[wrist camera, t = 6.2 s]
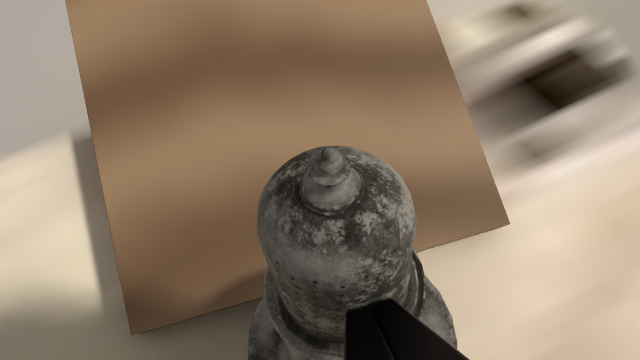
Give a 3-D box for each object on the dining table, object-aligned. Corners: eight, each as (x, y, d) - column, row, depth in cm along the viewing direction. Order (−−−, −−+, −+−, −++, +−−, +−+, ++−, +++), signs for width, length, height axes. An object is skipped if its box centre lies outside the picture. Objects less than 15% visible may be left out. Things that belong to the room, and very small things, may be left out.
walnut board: (499, 227, 19) (510, 223, 18) (140, 333, 18) (131, 335, 17) (375, -108, 23) (378, -126, 22) (65, -42, 21) (54, -58, 20)
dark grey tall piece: (312, 509, 15) (193, 457, 5) (245, 334, 18) (92, 98, 8) (480, 414, 16) (643, 219, 6) (387, 265, 19) (398, -16, 9)
